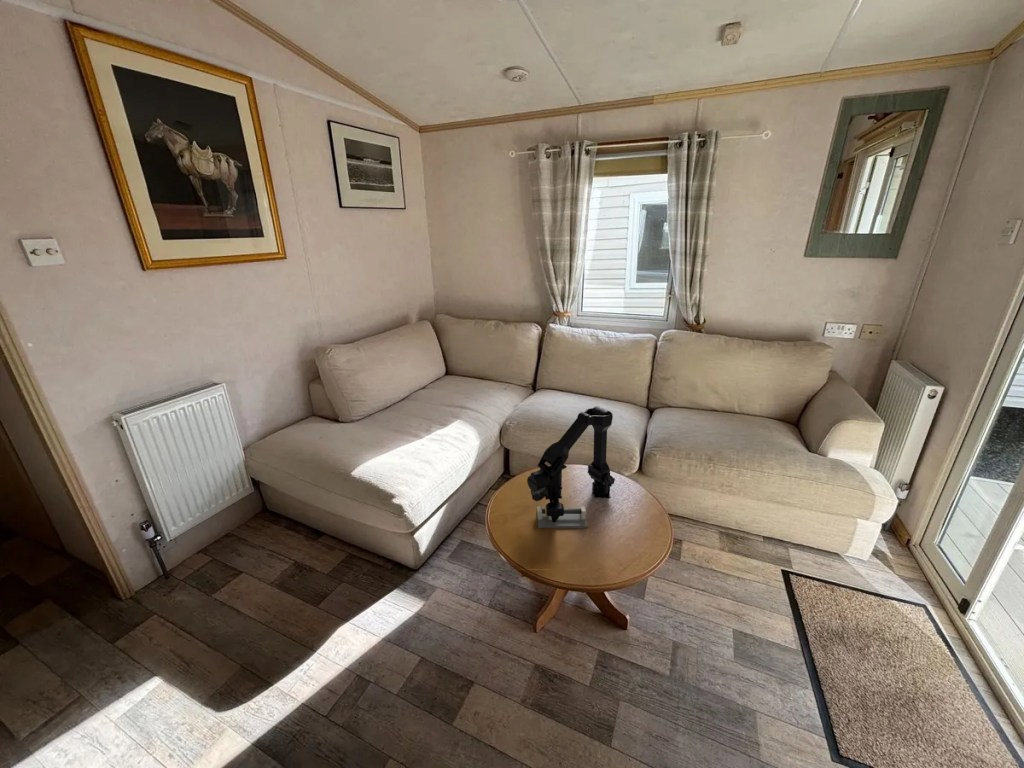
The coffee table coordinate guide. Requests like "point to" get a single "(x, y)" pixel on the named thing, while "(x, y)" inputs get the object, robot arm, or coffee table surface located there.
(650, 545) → the coffee table surface
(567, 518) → the grey rod slide mechanism
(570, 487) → the coffee table surface
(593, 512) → the coffee table surface
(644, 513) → the coffee table surface
